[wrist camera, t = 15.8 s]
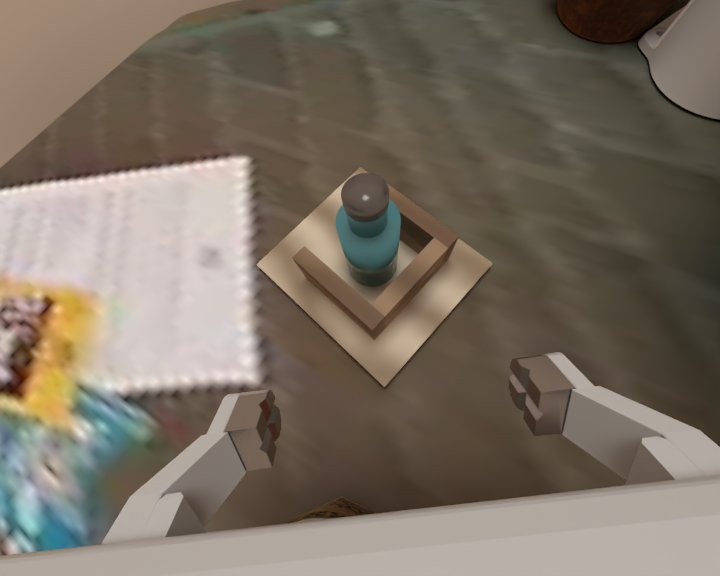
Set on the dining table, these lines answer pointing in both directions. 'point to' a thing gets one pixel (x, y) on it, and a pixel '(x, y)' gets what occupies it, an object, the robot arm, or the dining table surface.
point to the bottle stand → (380, 303)
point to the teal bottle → (368, 229)
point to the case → (611, 17)
